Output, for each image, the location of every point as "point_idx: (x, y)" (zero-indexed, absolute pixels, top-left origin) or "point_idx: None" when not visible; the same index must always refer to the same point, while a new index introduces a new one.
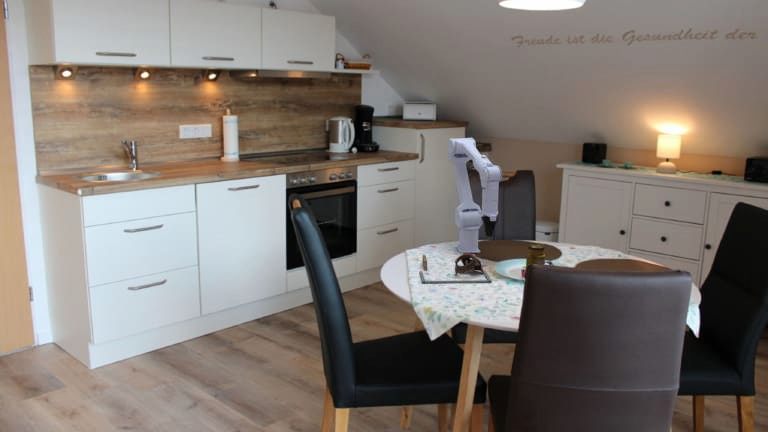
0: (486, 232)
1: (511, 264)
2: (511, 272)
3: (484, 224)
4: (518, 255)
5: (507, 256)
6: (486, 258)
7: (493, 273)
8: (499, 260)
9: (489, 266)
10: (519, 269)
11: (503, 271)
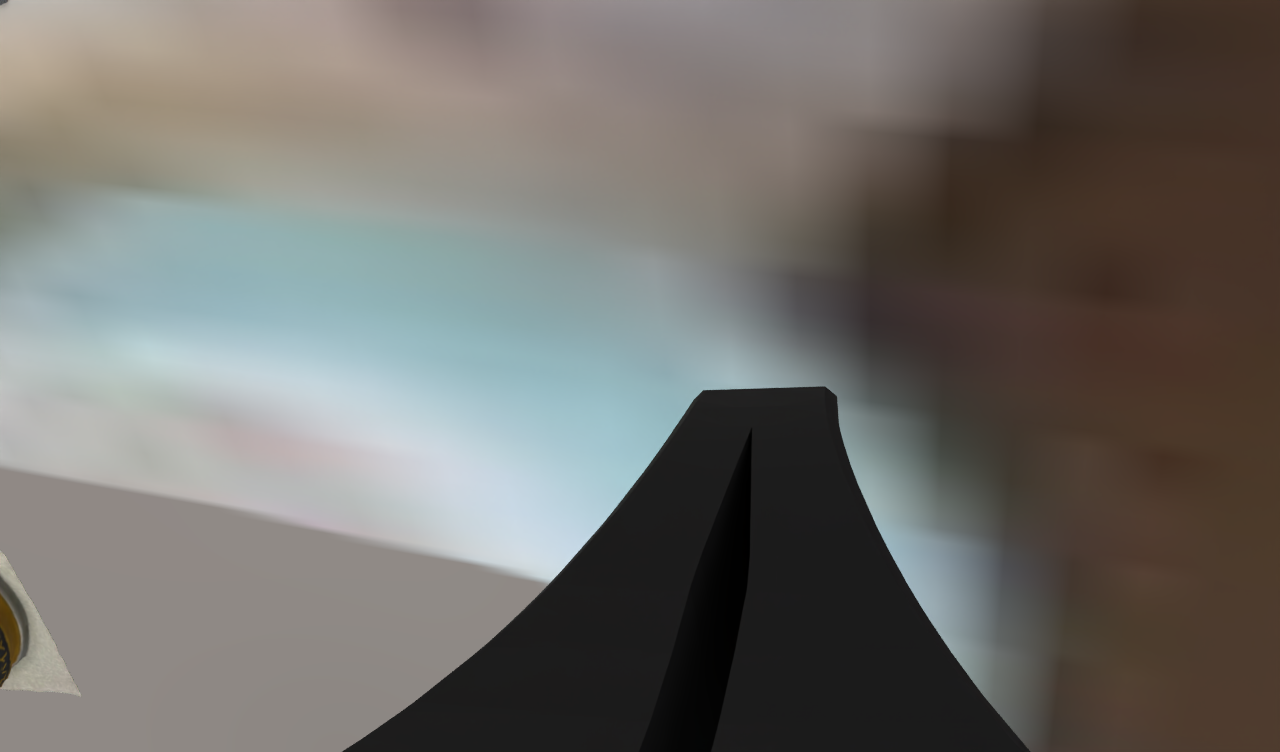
0: (650, 483)
1: (613, 480)
2: (168, 412)
3: (582, 681)
4: (1191, 663)
5: (1148, 504)
6: (1030, 105)
7: (2, 141)
8: (862, 338)
9: (415, 113)
10: (358, 534)
11: (178, 311)
